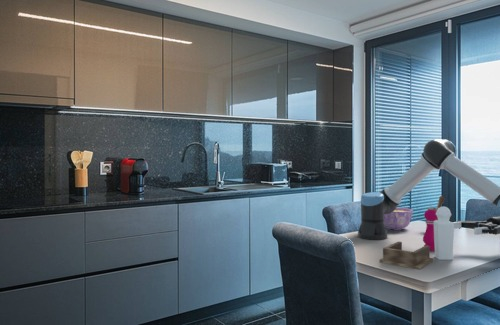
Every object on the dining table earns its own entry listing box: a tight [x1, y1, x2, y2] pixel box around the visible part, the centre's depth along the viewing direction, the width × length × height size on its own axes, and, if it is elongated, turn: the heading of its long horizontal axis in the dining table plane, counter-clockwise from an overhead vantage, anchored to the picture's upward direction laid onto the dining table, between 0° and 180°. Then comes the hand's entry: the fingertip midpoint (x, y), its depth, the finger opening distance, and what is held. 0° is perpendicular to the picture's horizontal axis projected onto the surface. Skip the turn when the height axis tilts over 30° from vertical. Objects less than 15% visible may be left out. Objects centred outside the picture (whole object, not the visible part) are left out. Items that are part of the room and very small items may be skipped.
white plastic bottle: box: [434, 206, 455, 261], centre depth 167 cm, size 6×6×22 cm
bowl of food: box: [384, 206, 414, 231], centre depth 233 cm, size 20×20×12 cm
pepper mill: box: [422, 206, 438, 252], centre depth 182 cm, size 7×7×20 cm
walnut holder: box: [379, 241, 434, 270], centre depth 162 cm, size 16×16×6 cm
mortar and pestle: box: [427, 195, 446, 220], centre depth 225 cm, size 12×9×20 cm
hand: (461, 228), depth 170 cm, fingers open, 13 cm apart
